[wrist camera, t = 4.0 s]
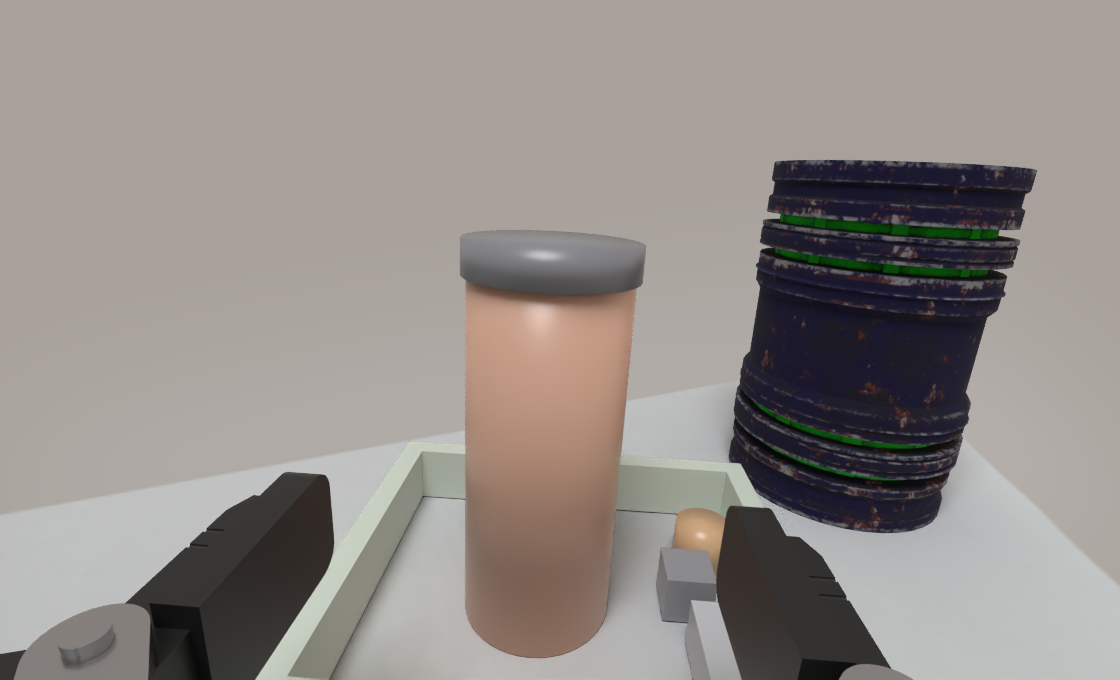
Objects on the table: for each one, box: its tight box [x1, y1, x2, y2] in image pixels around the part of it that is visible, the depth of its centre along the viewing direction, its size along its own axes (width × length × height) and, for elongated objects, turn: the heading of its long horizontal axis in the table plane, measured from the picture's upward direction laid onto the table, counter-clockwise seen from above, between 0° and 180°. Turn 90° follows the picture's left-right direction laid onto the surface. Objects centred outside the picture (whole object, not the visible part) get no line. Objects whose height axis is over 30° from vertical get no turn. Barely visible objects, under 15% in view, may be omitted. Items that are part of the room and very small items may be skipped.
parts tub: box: [255, 441, 764, 680], centre depth 18 cm, size 15×13×2 cm
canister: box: [460, 230, 646, 658], centre depth 17 cm, size 5×5×12 cm
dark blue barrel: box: [729, 160, 1037, 533], centre depth 26 cm, size 10×10×15 cm
